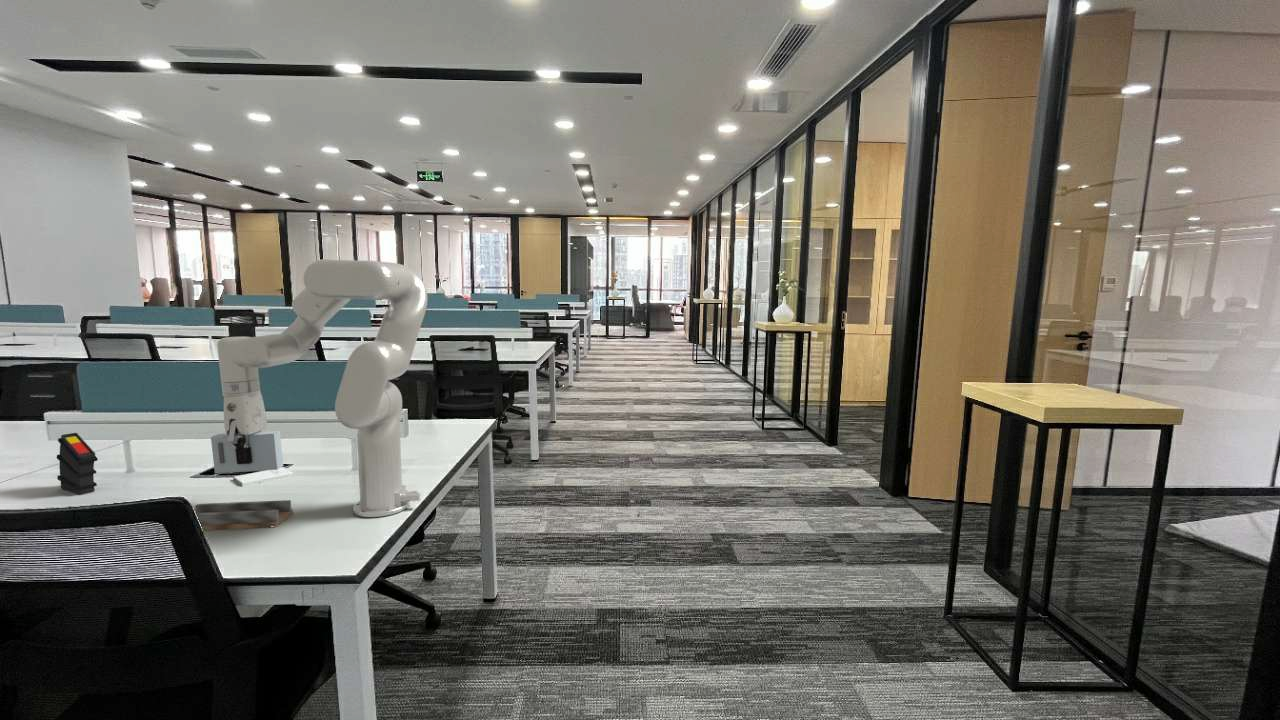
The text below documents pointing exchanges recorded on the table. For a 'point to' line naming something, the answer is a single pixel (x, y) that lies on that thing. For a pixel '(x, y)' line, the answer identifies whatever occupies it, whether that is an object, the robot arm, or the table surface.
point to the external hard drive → (262, 476)
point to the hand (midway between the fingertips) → (248, 460)
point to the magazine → (76, 464)
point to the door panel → (262, 449)
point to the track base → (242, 514)
